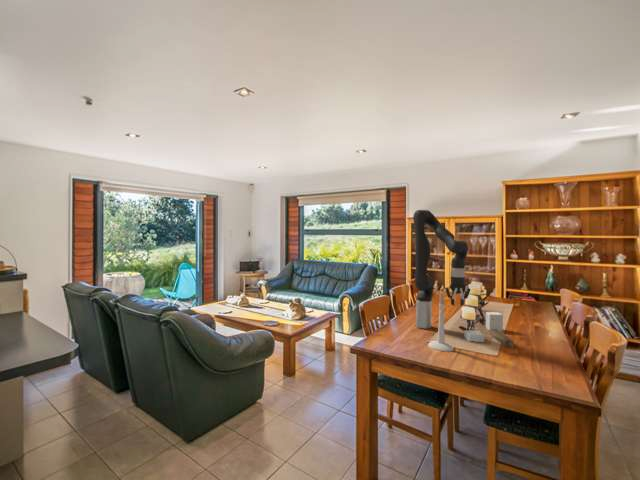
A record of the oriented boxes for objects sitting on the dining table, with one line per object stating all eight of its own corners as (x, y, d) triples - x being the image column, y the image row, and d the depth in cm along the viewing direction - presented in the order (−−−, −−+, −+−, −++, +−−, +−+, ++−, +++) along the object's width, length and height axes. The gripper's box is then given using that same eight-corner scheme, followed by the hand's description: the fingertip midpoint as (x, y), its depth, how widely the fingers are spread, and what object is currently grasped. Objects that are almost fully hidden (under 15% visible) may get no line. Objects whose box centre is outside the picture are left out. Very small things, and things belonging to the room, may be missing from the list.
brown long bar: (505, 346, 166) (505, 340, 166) (489, 334, 186) (489, 328, 186) (513, 347, 166) (513, 340, 166) (496, 334, 186) (496, 329, 185)
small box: (498, 328, 198) (499, 312, 197) (502, 331, 192) (503, 314, 192) (485, 328, 198) (485, 311, 198) (489, 331, 193) (489, 314, 192)
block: (469, 341, 174) (469, 334, 174) (464, 337, 182) (464, 330, 182) (484, 342, 173) (484, 335, 173) (478, 337, 181) (478, 331, 181)
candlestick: (442, 353, 157) (443, 294, 156) (423, 345, 168) (423, 290, 167) (459, 349, 163) (460, 292, 162) (439, 341, 174) (440, 288, 173)
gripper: (446, 276, 175) (446, 306, 176) (473, 277, 173) (472, 307, 174) (443, 274, 182) (442, 303, 183) (468, 275, 181) (467, 304, 181)
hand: (457, 305), depth 178 cm, fingers open, 4 cm apart
